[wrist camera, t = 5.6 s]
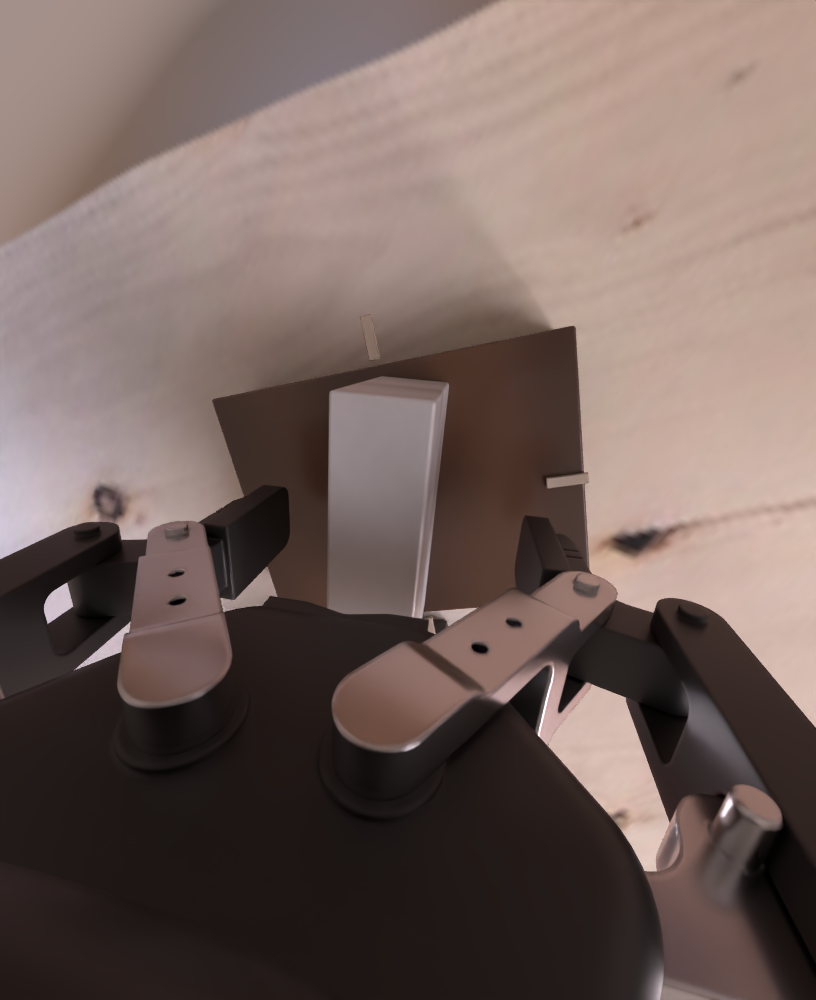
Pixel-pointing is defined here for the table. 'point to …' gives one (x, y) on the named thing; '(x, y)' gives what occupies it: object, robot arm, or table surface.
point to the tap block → (463, 467)
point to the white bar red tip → (383, 493)
